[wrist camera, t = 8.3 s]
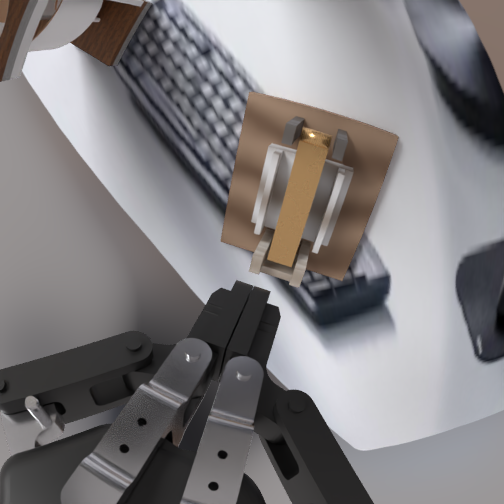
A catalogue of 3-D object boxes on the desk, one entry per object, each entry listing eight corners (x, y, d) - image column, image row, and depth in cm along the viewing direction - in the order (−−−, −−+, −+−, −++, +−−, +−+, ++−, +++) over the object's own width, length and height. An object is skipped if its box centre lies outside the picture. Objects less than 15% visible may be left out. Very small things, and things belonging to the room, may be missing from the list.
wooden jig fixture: (252, 91, 35) (229, 94, 28) (396, 135, 33) (411, 149, 26) (224, 236, 46) (200, 268, 39) (342, 274, 44) (339, 314, 37)
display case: (73, 39, 35) (-130, 83, 6) (103, -18, 30) (-111, -15, 1) (117, 65, 37) (-121, 126, 8) (152, 3, 31) (-104, -3, 2)
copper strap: (304, 126, 30) (302, 127, 29) (332, 134, 30) (332, 136, 28) (269, 254, 39) (266, 260, 37) (293, 261, 38) (290, 268, 37)
